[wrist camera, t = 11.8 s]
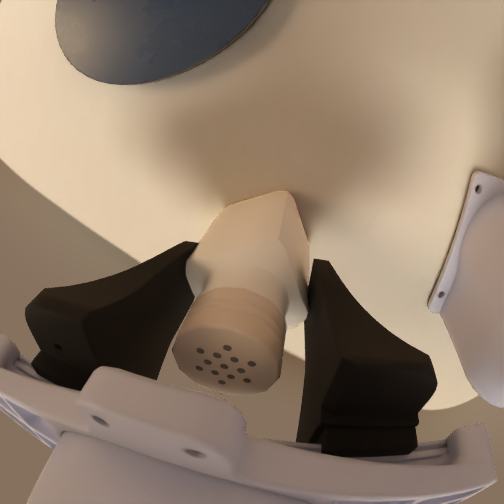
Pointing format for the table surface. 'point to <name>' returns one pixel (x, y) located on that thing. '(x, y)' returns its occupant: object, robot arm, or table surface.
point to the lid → (148, 35)
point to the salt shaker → (245, 295)
